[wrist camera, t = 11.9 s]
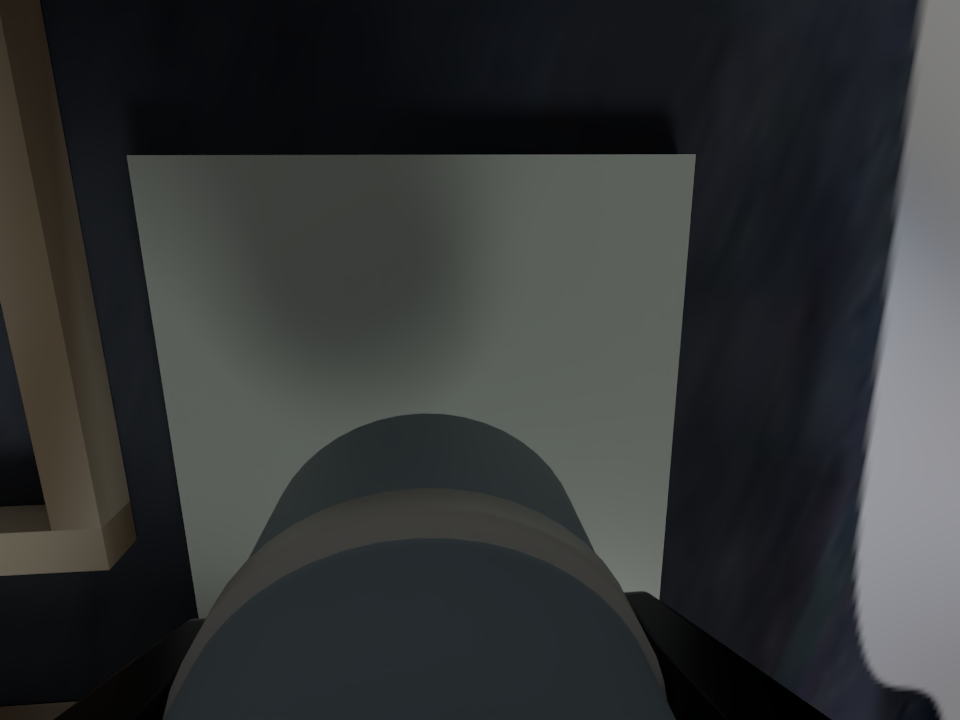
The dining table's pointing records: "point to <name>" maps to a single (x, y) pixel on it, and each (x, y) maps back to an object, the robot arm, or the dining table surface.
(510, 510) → the grey round canister
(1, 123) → the open square beige frame
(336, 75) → the dining table surface
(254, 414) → the pad
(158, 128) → the dining table surface
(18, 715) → the base
